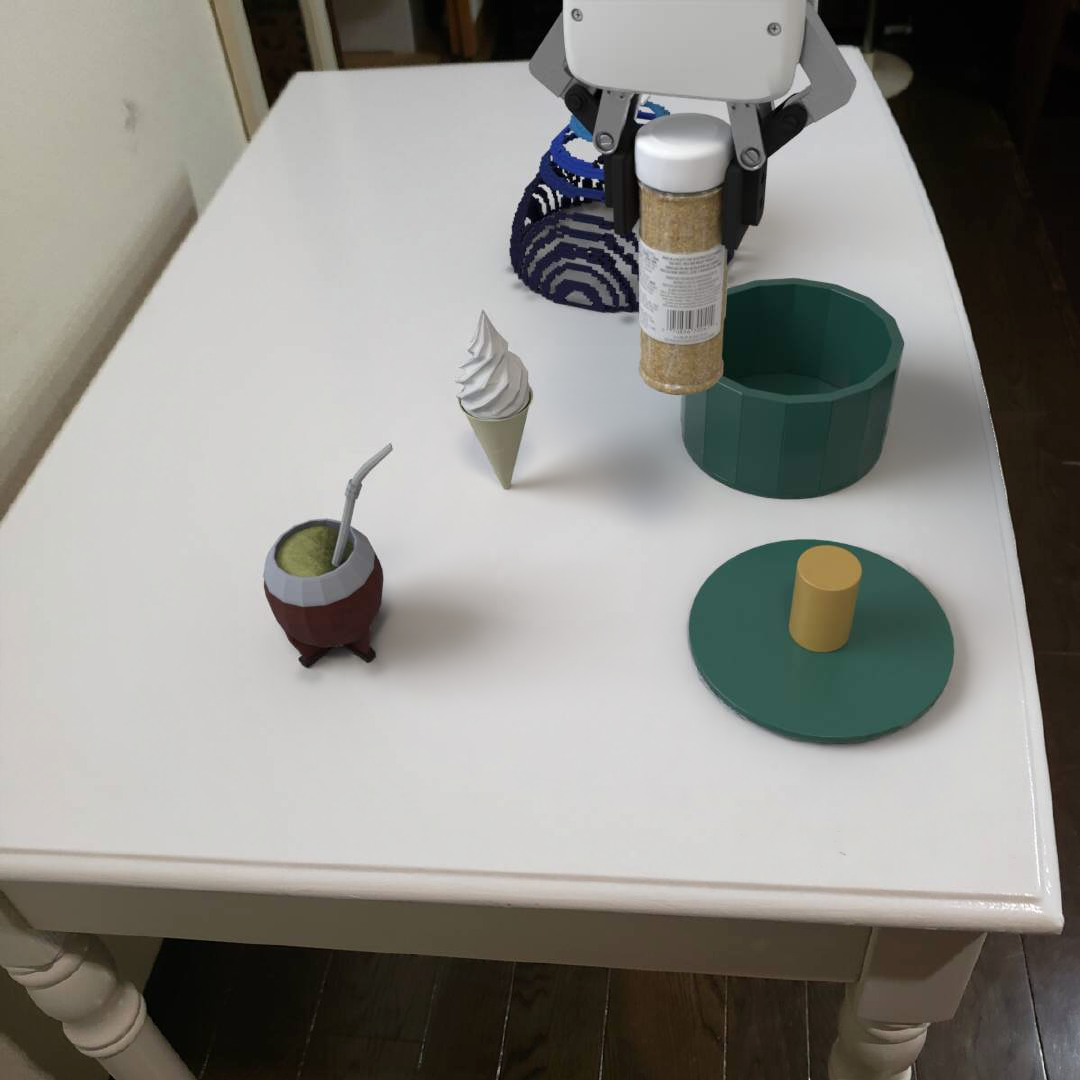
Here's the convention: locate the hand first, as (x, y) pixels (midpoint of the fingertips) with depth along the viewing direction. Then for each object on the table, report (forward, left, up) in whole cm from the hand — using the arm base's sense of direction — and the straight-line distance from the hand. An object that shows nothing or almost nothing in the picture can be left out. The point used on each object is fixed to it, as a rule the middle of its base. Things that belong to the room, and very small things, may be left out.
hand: (683, 224), depth 54 cm
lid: (-9, +1, -26) cm, 27 cm away
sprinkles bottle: (0, 0, -9) cm, 9 cm away
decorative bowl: (+17, -39, -26) cm, 50 cm away
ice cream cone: (+14, -6, -26) cm, 30 cm away
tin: (-3, -18, -26) cm, 32 cm away
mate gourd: (+18, +10, -26) cm, 34 cm away
